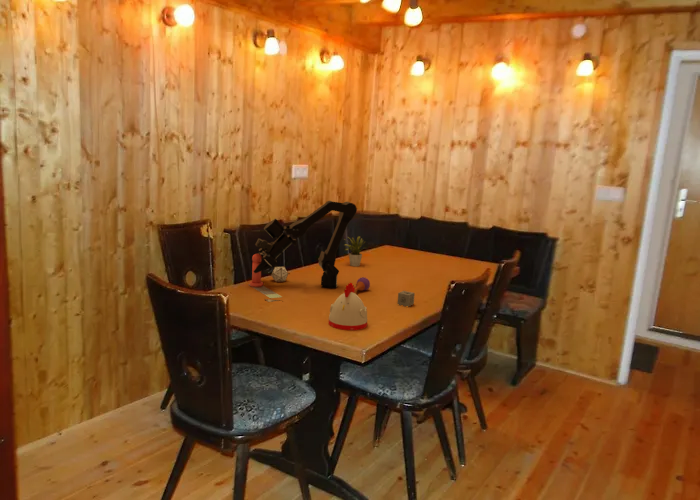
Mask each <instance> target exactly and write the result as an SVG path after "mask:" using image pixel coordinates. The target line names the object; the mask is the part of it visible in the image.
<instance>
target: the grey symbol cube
mask: <svg viewBox="0 0 700 500" xmlns="http://www.w3.org/2000/svg"><path fill="white" fill-rule="evenodd" d="M415 295H416V294H415V292H412V291H408V290H407V291H406V290H402V291H400V292H398V293H397V304H399V305H398V306H401V305H403V306H402V307H406V306H408V307H407V308H409V306H410V307H412V306H414V305H413V304H415ZM411 305H412V306H411Z"/></svg>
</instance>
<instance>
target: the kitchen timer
mask: <svg viewBox="0 0 700 500" xmlns="http://www.w3.org/2000/svg"><path fill="white" fill-rule="evenodd" d="M355 288H356V286H355V287H354V285H353V282H349V283H348V284H347V285H345V289H343V290H344V292H343V293H342V294H340V295H339V296H337V298H336V300H334V302H333V303H331V304H330V308H329V316H328V325H329V326H330V327H332V328H335V329H338V330H344V331H357V330H364V329H366V328H367V326H368V310H367V309H368V308H367V306H365V304H364V301H363V300H362V299H361V298H360V297H359V296H358V294H356V292H355V293H354V290H355Z"/></svg>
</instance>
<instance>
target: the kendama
mask: <svg viewBox="0 0 700 500" xmlns="http://www.w3.org/2000/svg"><path fill="white" fill-rule="evenodd" d="M370 287H371V283H370V280H369V279H368V278H367V277H364V276H363V277H362V276H361V277H360V278H358V279H357V280H356V283H355V290H354V293H355V294H356V293H357V292H358V291H361V292H364V291H367V290H368V289H369V288H370Z"/></svg>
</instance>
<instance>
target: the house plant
mask: <svg viewBox="0 0 700 500" xmlns="http://www.w3.org/2000/svg"><path fill="white" fill-rule="evenodd" d="M347 238H348V239H349V240H350V243H349V244H346V243H344V244H343V246H346V251H348V250H350V252H349V253H348V258H349V266H351V267H361V266H360V265H361V262H362V257H363V254H362V253H360V252H362V250H363V249H367V248H368V247H363V248H361V247H362V246H363V245H364V244H365V243H366V241H364V240H363V238H361V236H359V235H358V236H357V238H356V240H355V238H354V237H349V236H347ZM344 240H345V241H347V239H345V238H344Z"/></svg>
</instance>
